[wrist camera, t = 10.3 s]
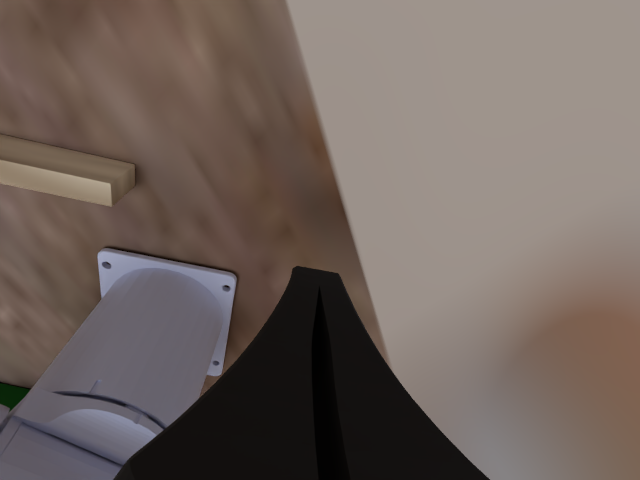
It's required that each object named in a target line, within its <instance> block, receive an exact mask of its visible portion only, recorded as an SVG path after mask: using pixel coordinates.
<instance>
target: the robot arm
mask: <svg viewBox="0 0 640 480" xmlns="http://www.w3.org/2000/svg"><path fill="white" fill-rule="evenodd" d="M97 257H98V267H99V277H100V288H101V298H102V299H101V300H100V302H99V303H98V304H97V306H96V307H95V308H94V309H93V311H92V312H91V313H90V315H89V316H88V317H87V318H86V320H85V321H84V322H83V323H82V325H81V326H80V327H79V329H78V330H77V331H76V332H75V334H74V335H73V336H72V337H71V339H70V340H69V341H68V343H67V344H66V345H65V346H64V348H63V349H62V350H61V352H60V353H59V354H58V355H57V357H56V358H55V359H54V360H53V362H52V363H51V364H50V366H49V367H48V368H47V369H46V371H45V372H44V373H43V374H42V376H41V377H40V378H39V380H38V381H37V382H36V383H35V385H34V386H33V387H32V389H31V390H30V391H29V392H28V394H27V395H26V396H25V397H24V398H23V399H22V400H21V401H20V402H19V403H18V404H17V405H16V406H15V407H14V408H13V409H12V410H11V411H10V412H9V410H10V408H8V407H6V406H4V405H2V404H0V480H490V479H489V478H487V477H486V476H485V475H484V474H483V473H482V472H481V471H480V470H479V469H478V468H477V467H476V466H474V465H473V464H472V463H471V462H470V461H469V460H468V459H467V458H466V457H465V456H464V455H463V454H462V453H461V451H459V449H457V447H456V446H455V445H453V443H452V442H451V441H450V440H449V439H448V438H447V437H446V436H445V435H444V434H443V433H442V432H441V431H440V430H439V429H438V427H437V426H436V425H435V424H434V423H433V422H432V421H431V419H430V418H429V417H428V416H427V415H426V414H425V413H424V411H423V410H422V409H421V408H420V407H419V406H418V404H417V403H416V402H415V401H414V400H413V399H412V398H411V396H410V395H409V394H408V392H407V391H406V390H405V388H404V387H403V386H402V384H401V383H400V382H399V380H398V379H397V378H396V376H395V375H394V373H393V372H392V371H391V369H390V368H389V366H388V365H387V363H386V362H385V360H384V359H383V357H382V356H381V354H380V353H379V351H378V349H377V348H376V346H375V344H374V343H373V341H372V339H371V338H370V336H369V334H368V333H367V331H366V329H365V327H364V325H363V323H362V321H361V320H360V318H359V316H358V314H357V312H356V310H355V308H354V306H353V304H352V302H351V300H350V298H349V295H348V293H347V291H346V289H345V286H344V284H343V282H342V279H341V277H340V275H339V274H338V273H334V272H328V271H322V270H317V269H311V268H306V267H300V266H296V267H294V268H293V270H292V274H291V278H290V281H289V283H288V286H287V288H286V290H285V292H284V294H283V296H282V297H281V299H280V301H279V303H278V304H277V306H276V308H275V309H274V311H273V313H272V314H271V316H270V317H269V319H268V320H267V322H266V323H265V324H264V326H263V327H262V329H261V330H260V332H259V333H258V334H257V336H256V337H255V338H254V340H253V341H252V342H251V343H250V345H249V346H248V347H247V348H246V350H245V351H244V352H243V353H242V354H241V356H240V357H239V358H238V359H237V360H236V361H235V362H234V363H233V365H232V366H231V367H230V368H229V369H228V370H227V371H226V372H225V373H224V374H223V375H222V377H221V378H220V379H219V380H218V381H217V382H216V383H215V384H214V385H213V386H212V387H211V388H210V389H209V390H208V391H207V392H206V393H204V394H203V395H202V396H201V397H200V398H199V396H200V393H201V390H202V387H203V384H204V381H205V378H206V375H210V376H219V375H221V373H222V370H223V364H224V358H225V352H226V345H227V339H228V332H229V326H230V320H231V313H232V307H233V300H234V294H235V288H236V281H237V278H236V276H235V275H234V274H233V273H230V272H226V271H221V270H216V269H211V268H206V267H201V266H196V265H191V264H186V263H181V262H176V261H171V260H165V259H160V258H155V257H150V256H145V255H140V254H135V253H130V252H125V251H120V250H115V249H110V248H104V249H102V250H101V251H100V252H99V253H98V256H97ZM106 262H108V263H110V264H111V265H109V264H107V263H106ZM224 285H228V286H229V287H230V288H227V287H225V286H224Z"/></svg>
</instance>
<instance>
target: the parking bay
mask: <svg viewBox="0 0 640 480" xmlns="http://www.w3.org/2000/svg"><path fill="white" fill-rule="evenodd" d="M0 183H2V184H6V185H11V186H16V187H21V188H25V189H30V190H35V191H39V192H44V193H49V194H54V195H58V196H63V197H68V198H73V199H77V200H82V201H87V202H92V203H96V204H101V205H106V206H111V207H112V206H113V205H114V204H115V203H117V202H118V201H119V200H120V199H121V198H122V197H123V196H124V195H125V194H127V193H128V192H129V191H130V190H131V189H132V188H133V187H134V186H135V164H131V163H126V162H122V161H118V160H113V159H109V158H104V157H100V156H95V155H91V154H87V153H82V152H78V151H73V150H69V149H64V148H60V147H55V146H51V145H47V144H42V143H38V142H33V141H29V140H24V139H20V138H16V137H11V136H7V135H2V134H0Z"/></svg>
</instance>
